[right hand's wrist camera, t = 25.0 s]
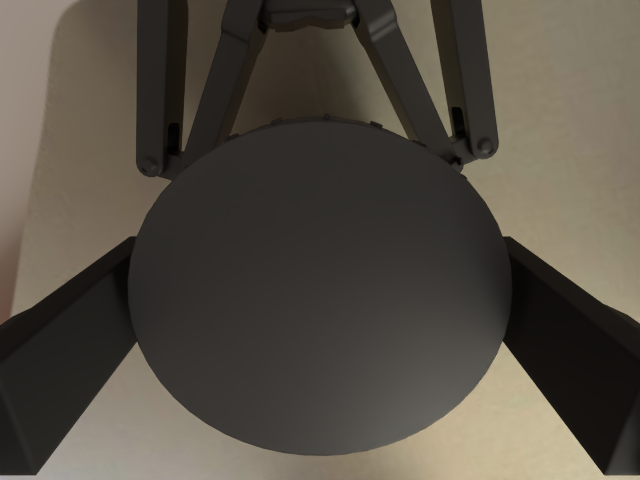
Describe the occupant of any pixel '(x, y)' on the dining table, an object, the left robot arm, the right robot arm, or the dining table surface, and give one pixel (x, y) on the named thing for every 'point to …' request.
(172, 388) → the lid
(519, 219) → the dining table surface
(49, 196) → the dining table surface
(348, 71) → the dining table surface
